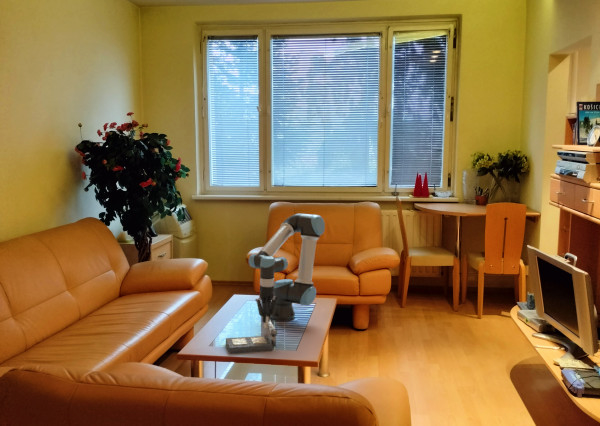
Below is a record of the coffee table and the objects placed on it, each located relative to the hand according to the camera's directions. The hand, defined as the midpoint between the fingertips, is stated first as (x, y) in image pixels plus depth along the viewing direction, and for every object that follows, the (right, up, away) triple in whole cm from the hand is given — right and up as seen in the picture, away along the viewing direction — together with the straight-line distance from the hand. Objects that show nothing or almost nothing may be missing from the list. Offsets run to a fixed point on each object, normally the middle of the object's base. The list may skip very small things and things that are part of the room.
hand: (265, 327), depth 291 cm
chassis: (-6, -7, -14) cm, 17 cm away
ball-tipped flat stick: (+2, 0, -1) cm, 3 cm away
